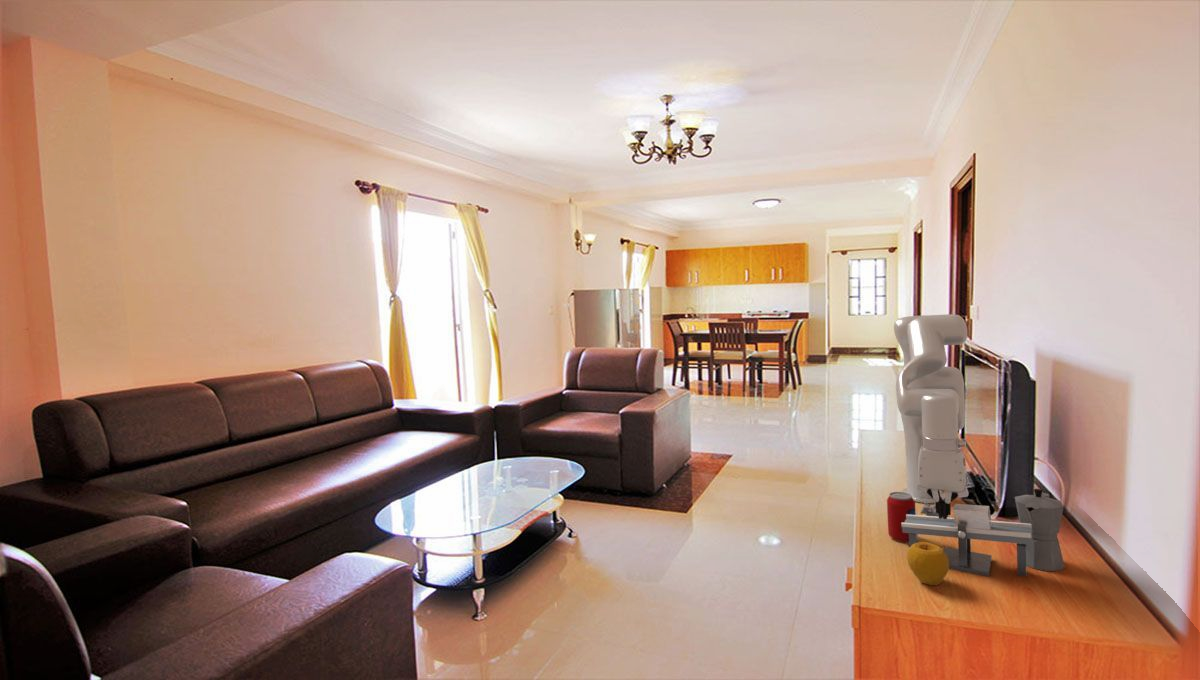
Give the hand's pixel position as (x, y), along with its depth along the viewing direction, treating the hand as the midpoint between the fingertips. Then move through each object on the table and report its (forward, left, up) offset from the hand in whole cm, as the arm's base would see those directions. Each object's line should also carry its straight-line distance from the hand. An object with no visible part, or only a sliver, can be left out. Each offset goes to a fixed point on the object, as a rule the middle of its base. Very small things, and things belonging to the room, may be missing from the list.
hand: (943, 516), depth 135 cm
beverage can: (-8, -11, -11) cm, 18 cm away
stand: (0, +4, -11) cm, 12 cm away
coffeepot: (-10, +19, -11) cm, 24 cm away
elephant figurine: (-23, -4, -11) cm, 26 cm away
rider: (0, +6, -2) cm, 6 cm away
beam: (0, +4, -3) cm, 6 cm away
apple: (+14, -2, -11) cm, 18 cm away
